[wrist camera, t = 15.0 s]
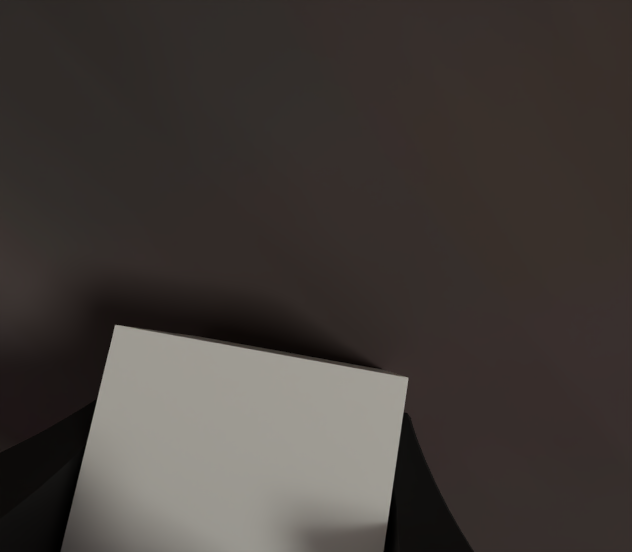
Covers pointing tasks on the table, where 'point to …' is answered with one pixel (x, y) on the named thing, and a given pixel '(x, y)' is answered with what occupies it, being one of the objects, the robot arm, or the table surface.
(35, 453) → the robot arm
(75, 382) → the table surface
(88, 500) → the pale grey cube
